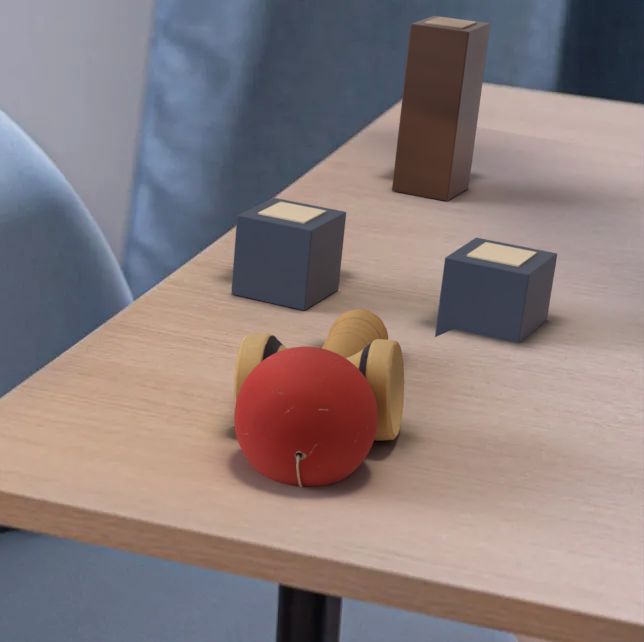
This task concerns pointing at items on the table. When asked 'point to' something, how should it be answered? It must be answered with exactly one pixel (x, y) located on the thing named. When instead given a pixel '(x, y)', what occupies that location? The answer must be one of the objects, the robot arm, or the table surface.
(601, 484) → the table surface
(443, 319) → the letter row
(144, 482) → the table surface
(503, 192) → the table surface
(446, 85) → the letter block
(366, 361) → the kendama
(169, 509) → the table surface
